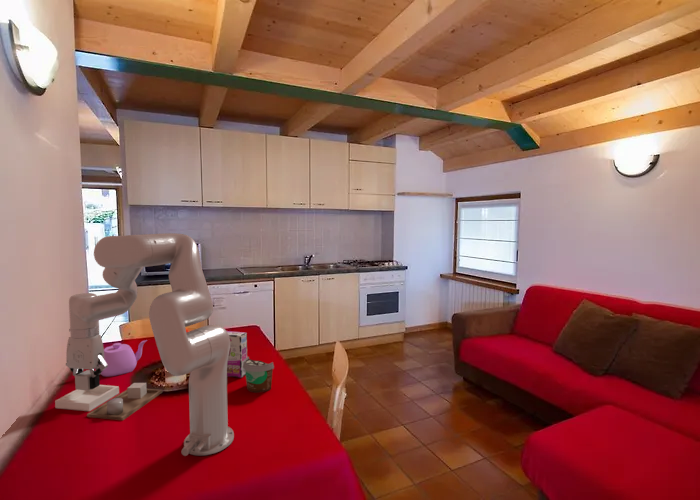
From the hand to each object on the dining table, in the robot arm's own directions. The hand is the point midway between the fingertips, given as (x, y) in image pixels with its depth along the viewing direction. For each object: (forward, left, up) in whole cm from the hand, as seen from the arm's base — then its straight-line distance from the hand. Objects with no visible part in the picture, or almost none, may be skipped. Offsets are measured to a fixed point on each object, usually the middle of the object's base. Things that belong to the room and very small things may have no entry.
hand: (87, 386), depth 120 cm
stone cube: (0, 0, 0) cm, 0 cm away
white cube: (+5, -14, -5) cm, 15 cm away
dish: (0, 0, -5) cm, 5 cm away
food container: (+17, -50, -6) cm, 53 cm away
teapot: (+24, +9, -6) cm, 26 cm away
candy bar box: (+28, -36, -6) cm, 46 cm away
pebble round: (-6, -15, -5) cm, 16 cm away
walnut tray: (0, -14, -5) cm, 15 cm away
